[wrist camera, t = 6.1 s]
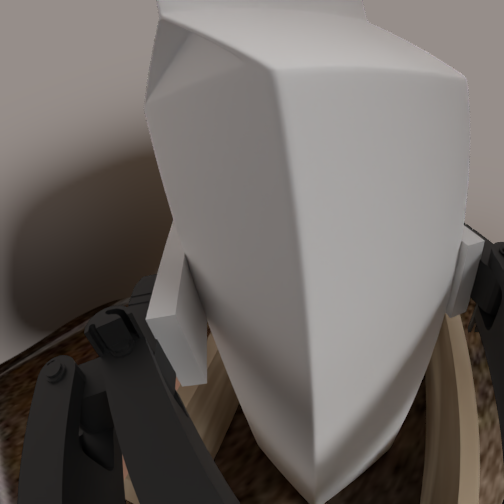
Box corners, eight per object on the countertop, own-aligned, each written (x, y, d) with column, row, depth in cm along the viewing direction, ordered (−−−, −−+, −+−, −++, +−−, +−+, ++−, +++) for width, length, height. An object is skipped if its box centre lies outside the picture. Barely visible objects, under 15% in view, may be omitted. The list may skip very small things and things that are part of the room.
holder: (436, 362, 19) (456, 302, 16) (424, 561, 7) (471, 554, 4) (249, 350, 24) (233, 293, 21) (168, 518, 12) (116, 493, 9)
